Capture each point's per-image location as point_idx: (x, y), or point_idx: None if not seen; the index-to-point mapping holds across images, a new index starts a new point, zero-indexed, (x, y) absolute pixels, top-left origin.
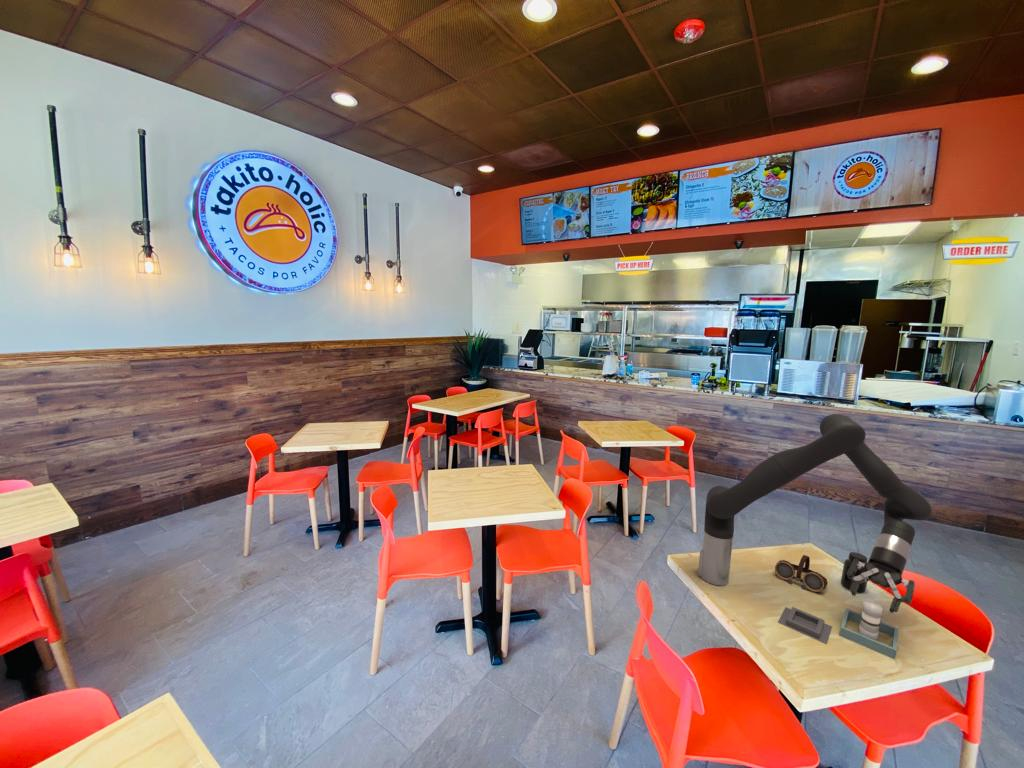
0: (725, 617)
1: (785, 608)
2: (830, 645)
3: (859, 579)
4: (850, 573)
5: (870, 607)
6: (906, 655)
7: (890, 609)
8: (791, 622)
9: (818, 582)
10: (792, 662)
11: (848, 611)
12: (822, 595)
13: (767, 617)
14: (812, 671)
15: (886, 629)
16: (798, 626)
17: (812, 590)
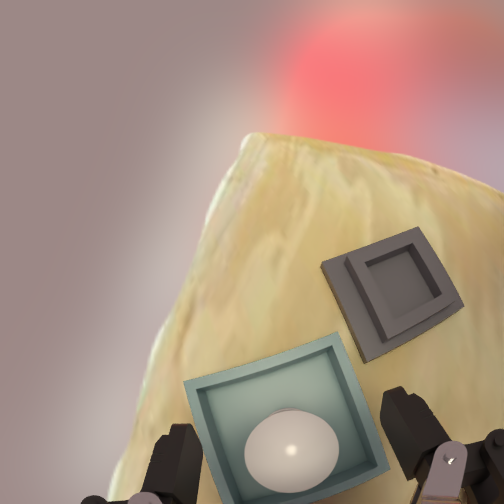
0: (442, 167)
1: (459, 298)
2: (321, 286)
3: (434, 471)
4: (498, 451)
5: (286, 411)
6: None
7: (184, 424)
8: (404, 234)
9: None
10: (315, 165)
11: (376, 458)
12: None
13: (441, 237)
14: (284, 175)
15: (261, 502)
16: (390, 240)
17: None
